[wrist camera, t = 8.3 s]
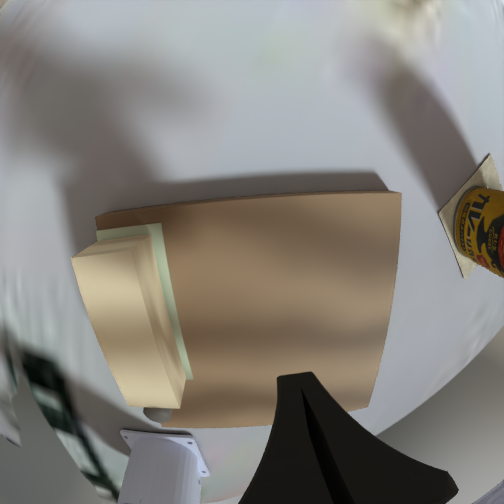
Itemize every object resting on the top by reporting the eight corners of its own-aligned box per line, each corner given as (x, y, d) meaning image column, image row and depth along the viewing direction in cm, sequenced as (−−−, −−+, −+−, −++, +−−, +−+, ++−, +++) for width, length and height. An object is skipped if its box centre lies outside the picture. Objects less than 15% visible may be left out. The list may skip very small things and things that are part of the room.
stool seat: (362, 395, 22) (368, 407, 20) (164, 414, 21) (161, 427, 20) (389, 190, 16) (402, 193, 15) (104, 212, 16) (93, 217, 14)
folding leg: (191, 392, 18) (186, 423, 15) (146, 391, 18) (137, 420, 15) (151, 234, 14) (131, 250, 11) (96, 241, 14) (70, 258, 11)
